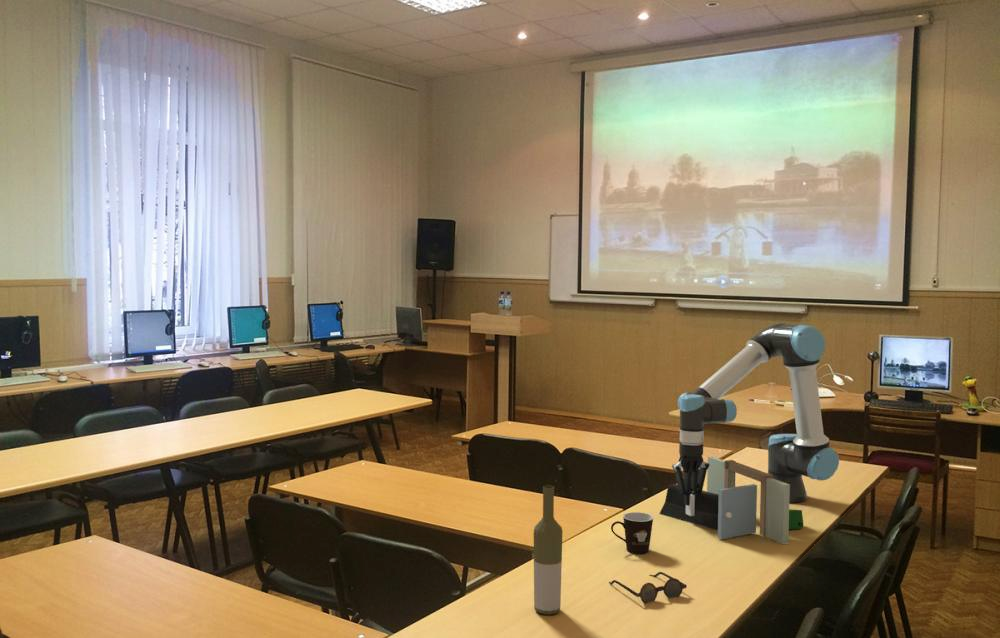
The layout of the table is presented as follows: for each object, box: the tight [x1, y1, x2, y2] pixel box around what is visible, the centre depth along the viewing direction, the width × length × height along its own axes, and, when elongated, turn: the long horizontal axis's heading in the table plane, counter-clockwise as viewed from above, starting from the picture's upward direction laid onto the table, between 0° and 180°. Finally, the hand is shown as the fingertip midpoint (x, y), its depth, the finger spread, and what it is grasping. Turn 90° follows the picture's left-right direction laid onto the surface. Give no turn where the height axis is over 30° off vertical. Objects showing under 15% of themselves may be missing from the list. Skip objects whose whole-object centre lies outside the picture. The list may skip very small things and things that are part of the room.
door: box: [717, 484, 758, 540], centre depth 232 cm, size 14×3×15 cm, turn 115°
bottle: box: [533, 484, 563, 615], centre depth 180 cm, size 7×7×30 cm
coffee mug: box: [610, 511, 654, 555], centre depth 221 cm, size 12×9×10 cm
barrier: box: [658, 483, 719, 532], centre depth 250 cm, size 24×9×10 cm, turn 42°
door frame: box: [706, 456, 790, 545], centre depth 245 cm, size 3×38×19 cm, turn 20°
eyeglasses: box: [608, 571, 687, 605], centre depth 194 cm, size 15×15×5 cm
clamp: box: [789, 508, 804, 530], centre depth 243 cm, size 12×6×9 cm, turn 97°
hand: (689, 514), depth 246 cm, fingers closed
